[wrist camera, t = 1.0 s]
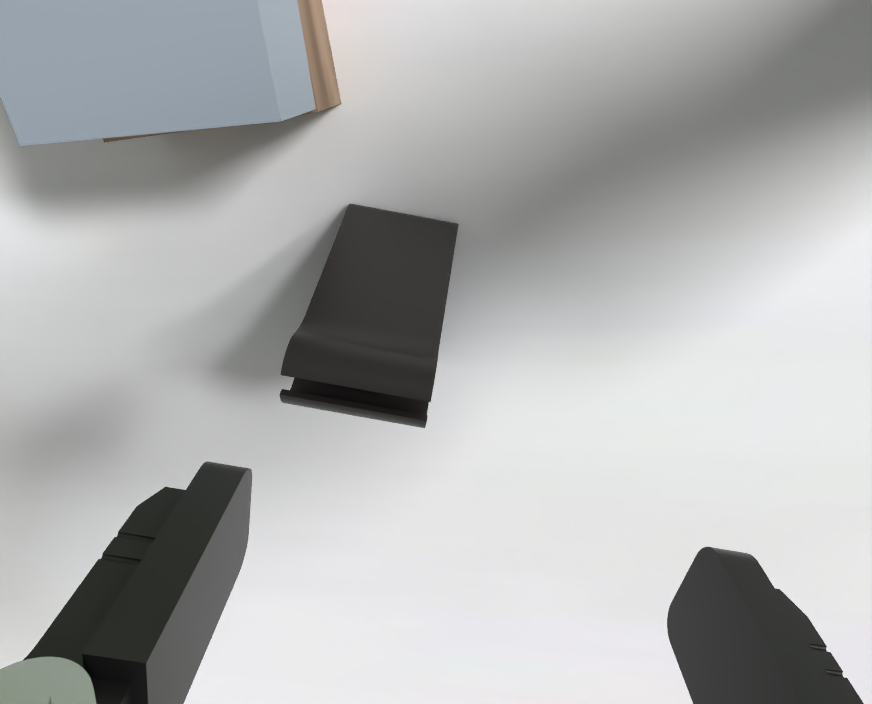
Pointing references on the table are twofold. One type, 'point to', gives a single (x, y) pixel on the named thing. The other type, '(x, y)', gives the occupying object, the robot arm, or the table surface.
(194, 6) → the tower top
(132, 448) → the table surface
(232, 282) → the table surface
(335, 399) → the phone stand
